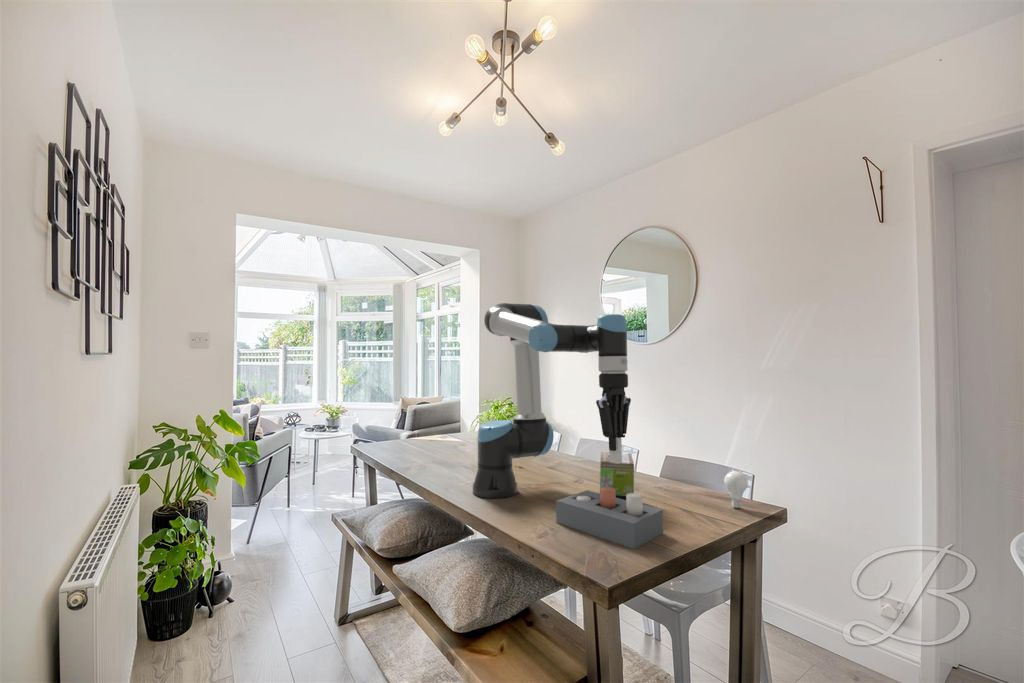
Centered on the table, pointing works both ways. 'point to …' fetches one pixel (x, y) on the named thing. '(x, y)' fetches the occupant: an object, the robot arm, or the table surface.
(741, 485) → the lightbulb
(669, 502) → the table surface
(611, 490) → the brown egg
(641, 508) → the grey plunger
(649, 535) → the board
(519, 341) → the robot arm
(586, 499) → the grey plunger
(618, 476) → the tea box
